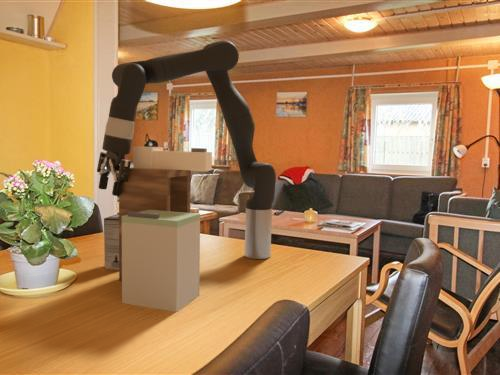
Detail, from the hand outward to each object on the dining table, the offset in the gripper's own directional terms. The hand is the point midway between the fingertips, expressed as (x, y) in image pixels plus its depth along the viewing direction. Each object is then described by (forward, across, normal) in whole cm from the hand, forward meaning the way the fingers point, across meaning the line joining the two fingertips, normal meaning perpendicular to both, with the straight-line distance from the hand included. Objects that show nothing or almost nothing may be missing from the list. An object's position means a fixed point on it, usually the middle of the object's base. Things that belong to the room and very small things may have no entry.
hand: (109, 192), depth 122 cm
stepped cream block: (-10, -11, -12) cm, 19 cm away
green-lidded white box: (+21, -27, -5) cm, 35 cm away
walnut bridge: (+22, -10, -14) cm, 28 cm away
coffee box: (+25, +7, -12) cm, 29 cm away
